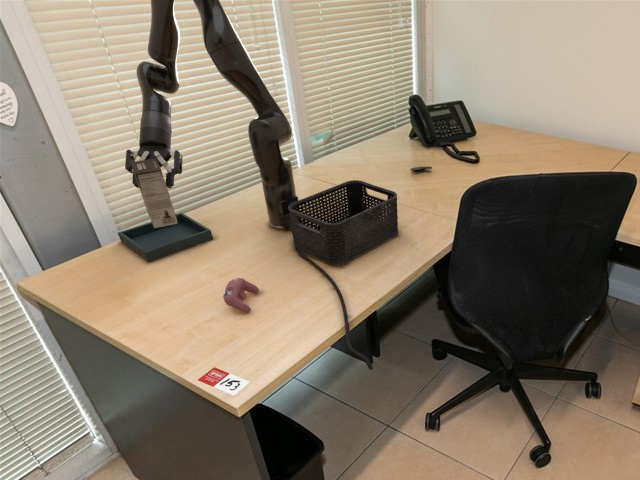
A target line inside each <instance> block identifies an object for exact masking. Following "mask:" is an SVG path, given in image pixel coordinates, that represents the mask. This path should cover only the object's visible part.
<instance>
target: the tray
mask: <svg viewBox="0 0 640 480" xmlns="http://www.w3.org/2000/svg"><path fill="white" fill-rule="evenodd" d="M175 215H176V218H177V222H178V224H173V225H168V226H163V227H158V228H154V226H153V224H152V221H151V222H147V223H144V224H141V225H136V226H134V227H131V228H127V229H123V230H122V231H119V232H117V234H118V235H117V236H118V237H119V240H120V242H121V243H122V244H123V245H125V246H126V247H127V248H128V249H130V250H131V251H133V252H134V253H135V254H137V255H138V256H139V257H141V258H142V259H144V260H145V261H147V262H148V263H152V262H154V261H157V260H159V259H162V258H165V257H168V256H170V255H174V254H176V253H179V252H182V251H184V250H187V249H191V248H192V247H197V246H199V245H201V244H204V243H207V242H209V241H212V240H214V237H213V233H212V230H211V229H210V228H209V227H207V226H205V225H203V224H202V223H200V222H198V221H196V220H195V219H194V218H191V217H190V216H189V215H186V214H185V213H184V212H179V213H175Z"/></svg>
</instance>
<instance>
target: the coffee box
mask: <svg viewBox="0 0 640 480" xmlns="http://www.w3.org/2000/svg"><path fill="white" fill-rule="evenodd" d="M131 165H132V168H133V172H134V174H135V177H136V180H137V183H138V186H139V188H138V189H139V191H140V194H141V197H142V200H143V203H144V205H145V209H146V211H147V214H148V216H149V219H150V221H151V222H152V224H153V226H154V228H158V227H163V226H168V225H173V224H178V222H177V218H176V211H175V209H174V205H173V202H172V199H171V197H170V192H169V190H168V189H169V188H167V186H166V179H165V177H164V174H163V171H162V167H160V166H159V163H158V161H157V159H156V158H154V159H148V160H142V161H138V160H137V161H136V160H135V162H131Z"/></svg>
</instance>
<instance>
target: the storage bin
mask: <svg viewBox="0 0 640 480" xmlns="http://www.w3.org/2000/svg"><path fill="white" fill-rule="evenodd" d="M368 190H370V191H373V192H376V193H379V194H382V195H385V196H387V199H383V198H380V197H377V196H376V195H375V196H374V195H372V194H369V193H368ZM298 200H299V201H296V202H294V203H291V204H290V205H289V206H288V209H289V213H290V214H289V215H290V219H291V220H290V221H291V226H292V227H291V228H292V232H291V234H292V239H293V247H294V250H295V249H297V250H299V251H300V252H301V253H302V254H303V255H305V256H307V257H310V258H313V259H316V260H317V261H320V262H323V263H325V264H326V265H330V266H335V267H337V266H342V265H343V266H344V265H346V264H348V263H350V262H352V261H354V260H355V259H357V258H358V257H361V256H363V255H364V254H366V253H368V252H369V251H371V250H373V249H375V248H377V247H378V246H381V245H382V244H384V243H386V242H388V241H389V240H391V239H393V238H395V237H397V236H398V235H399V222H398V220H399V216H398V193H397V192H395V191H393V190H391V189H387V188H384V187H381V186H377V185H375V184H371V183H369V182H366V181H363V180H358V179H351V180H348V181H345V182H342V183H340V184H339V183H338V184H337V185H335V186H332V187H330V188H327V189H324V190H322V191H319V192H317V193H313V194H312V195H309V196H307V197H304V198H301V199H298ZM297 210H298V211H297ZM298 217H299V218H298Z"/></svg>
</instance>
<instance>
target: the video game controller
mask: <svg viewBox="0 0 640 480" xmlns="http://www.w3.org/2000/svg"><path fill="white" fill-rule="evenodd" d="M247 292H248V293H250V294H259V293H260V288H259V287H258V286H257V285H256V284H254V283H252V282H249V281H248V280H246V279H244V278H242V277H236V278H233V279H231V280H230V281H228V283H227V285H226V287H225V291H224V293H223V297H222V298H223V301H224V303H225V304H226V305H227V306H228V307H231V308H233V309H235V310H236V311H238V312H241V313H246V314H248V313H249V314H250V312H251V311H252V309H251V307H250V306H249V304H247V303H245V302H244V301H243V300H246V299H247Z"/></svg>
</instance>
